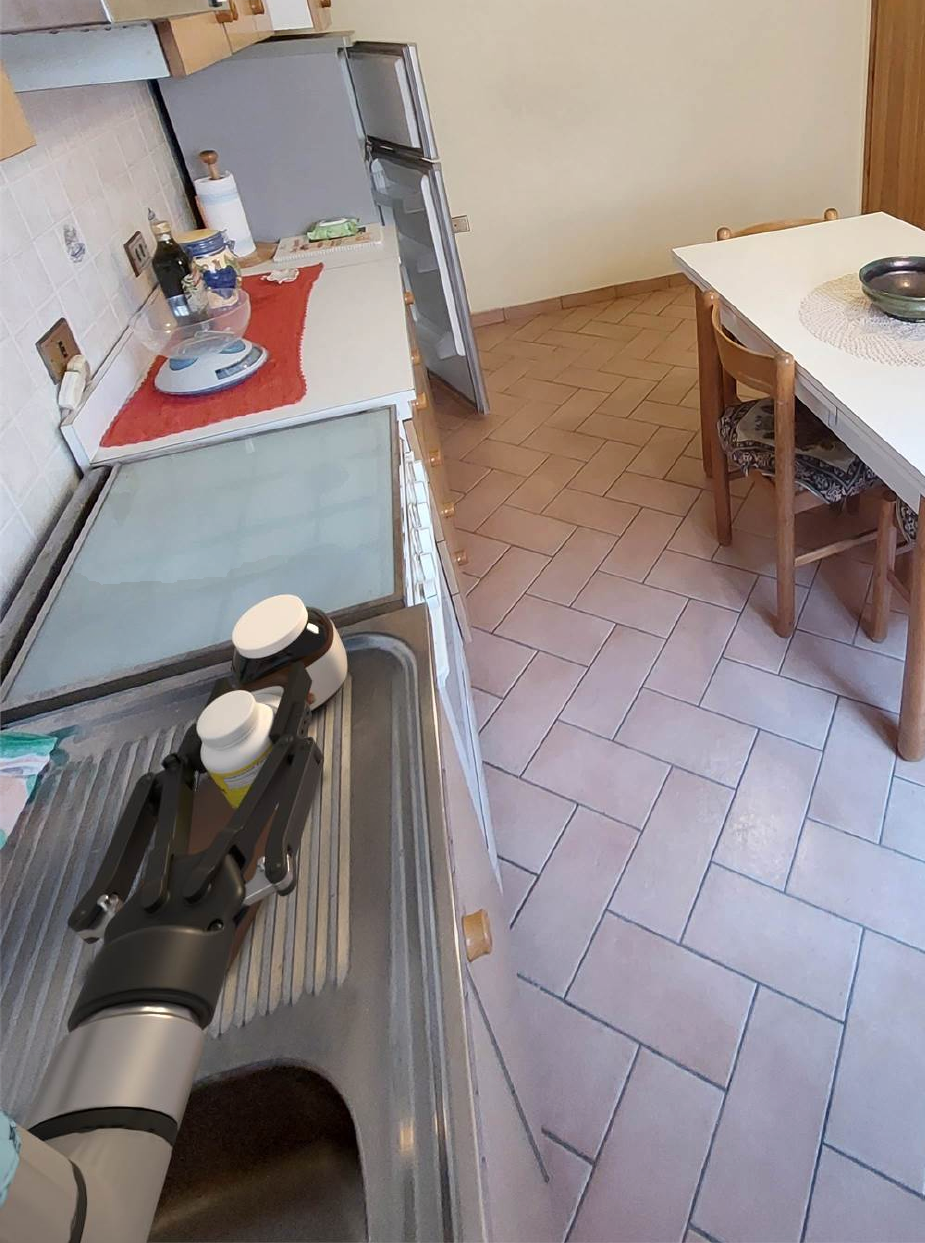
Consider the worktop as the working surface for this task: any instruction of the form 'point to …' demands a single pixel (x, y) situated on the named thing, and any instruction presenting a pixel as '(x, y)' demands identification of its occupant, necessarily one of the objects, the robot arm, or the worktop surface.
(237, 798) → the supplement bottle
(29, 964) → the worktop surface
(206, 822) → the runner mat
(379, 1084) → the worktop surface
